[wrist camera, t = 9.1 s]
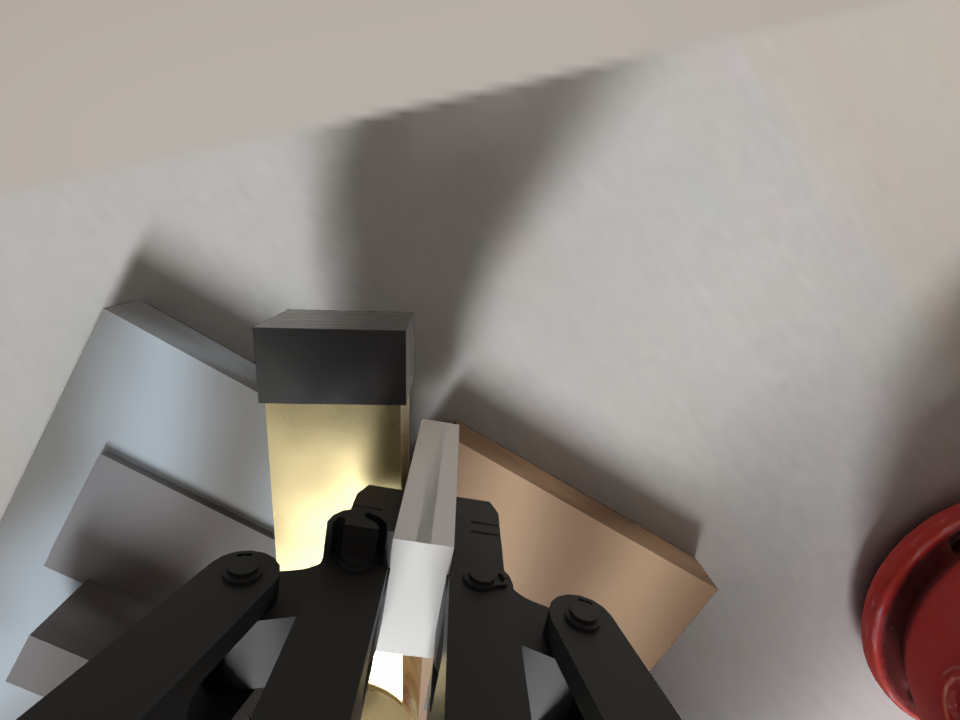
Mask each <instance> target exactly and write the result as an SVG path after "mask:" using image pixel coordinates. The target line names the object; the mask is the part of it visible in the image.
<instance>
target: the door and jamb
mask: <svg viewBox="0 0 960 720" xmlns="http://www.w3.org/2000/svg"><path fill="white" fill-rule="evenodd" d="M454 424H458V425H459V445H458V469H457V492H456V497H462V498H469V499H475V500H482V501H488V502H490V503H491V504H492V506H493V507H494V508H495V509H496V511H497V512H498V515H499V527H500V534H501V535H500V537H501V544H502V554H503V563H504V571H505V572H506V573H507V574H508V575H509V576H510V578H511V581H512V583H513V588H514V590H515V591H516V592H517V593H519V594H520V595H522V596H523V597H525V598H527V599H529V600H531V601H533V602H536V603H538V604H541V605H544V606H546V607H550V604H551V601H553V600H554V599H555V598H556V597H558V596H562V595H567V594H571V595H580V596H583V597H586V598H588V599H591V600H593V601H595V602H596V603H598V604H599V605H601V606H602V607H604V608H605V609H606V610H607V612H608V613H609V614H610V615H611V616H612V617H613V619H614V620H615V622H616V623H617V625H618V626H619V628H620V629H621V631H622V632H623V634H624V635H625V637H626V638H627V640H628V641H629V643H630V644H631V645H632V647H633V648H634V650H635V651H636V653H637V654H638V656H639V657H640V659H641V660H642V662H643V663H644V665H645V666H646V668H647V669H648V671H649V672H650V670H651V669H652V668H653V667H654V665H655V664H656V663H657V662H658V661H659V659H660V658H661V657H662V656H663V655H664V653H665V652H666V651H667V650H668V649H669V647H670V646H671V645H672V644H673V643H674V641H675V640H676V639H677V638H678V637H679V635H680V634H681V633H682V632H683V631H684V629H685V628H686V627H687V626H688V625H689V623H690V622H691V621H692V620H693V619H694V617H695V616H696V615H697V614H698V613H699V611H700V610H701V609H702V608H703V607H704V605H705V604H706V603H707V602H708V601H709V599H710V598H711V597H712V596H713V595H714V593H715V592H716V591H717V590H718V589H717V587H716V586H715V585H714V583H713V582H712V581H711V579H710V578H709V576H708V575H707V574H706V572H705V571H704V570H703V568H702V567H701V565H700V564H699V563H698V561H697V560H696V558H694V557H692V556H691V555H689V554H687V553H686V552H684V551H682V550H680V549H679V548H677V547H675V546H673V545H672V544H670V543H668V542H666V541H665V540H663V539H661V538H660V537H658V536H656V535H654V534H653V533H651V532H649V531H647V530H646V529H644V528H642V527H640V526H639V525H637V524H635V523H634V522H632V521H630V520H628V519H627V518H625V517H623V516H621V515H620V514H618V513H616V512H614V511H613V510H611V509H609V508H608V507H606V506H604V505H602V504H601V503H599V502H597V501H595V500H594V499H592V498H590V497H588V496H587V495H585V494H583V493H582V492H580V491H578V490H576V489H575V488H573V487H571V486H569V485H568V484H566V483H564V482H562V481H561V480H559V479H557V478H556V477H554V476H552V475H550V474H549V473H547V472H545V471H543V470H542V469H540V468H538V467H536V466H535V465H533V464H531V463H530V462H528V461H526V460H524V459H523V458H521V457H519V456H517V455H516V454H514V453H512V452H510V451H509V450H507V449H505V448H504V447H502V446H500V445H498V444H497V443H495V442H493V441H491V440H490V439H488V438H486V437H484V436H483V435H481V434H479V433H478V432H476V431H474V430H472V429H471V428H469V427H467V426H465V425H464V424H462V423H460V422H458V421H457V420H456V421H455V423H454ZM251 550H252V551H258V552H263V553H266V554H268V555H270V556H272V557H274V558H275V559H276V547H275V533H274V519H273V505H272V492H271V478H270V464H269V450H268V436H267V422H266V408H265V403H258V389H257V376H256V364H254V363H252V362H251V361H249V360H247V359H245V358H243V357H242V356H240V355H238V354H236V353H234V352H233V351H231V350H229V349H227V348H225V347H224V346H222V345H220V344H218V343H216V342H215V341H213V340H211V339H209V338H207V337H206V336H204V335H202V334H200V333H198V332H197V331H195V330H193V329H191V328H189V327H188V326H186V325H184V324H182V323H181V322H179V321H177V320H175V319H173V318H172V317H170V316H168V315H166V314H164V313H163V312H161V311H159V310H157V309H155V308H154V307H152V306H150V305H148V304H146V303H145V302H143V301H141V300H136V301H132V302H128V303H124V304H119V305H115V306H111V307H107V308H103V310H102V312H101V314H100V316H99V319H98V321H97V323H96V325H95V327H94V329H93V331H92V333H91V335H90V337H89V339H88V341H87V343H86V346H85V348H84V350H83V352H82V354H81V356H80V358H79V360H78V362H77V364H76V366H75V368H74V370H73V373H72V375H71V377H70V379H69V381H68V383H67V385H66V387H65V389H64V391H63V393H62V395H61V397H60V400H59V402H58V404H57V406H56V408H55V410H54V412H53V414H52V416H51V418H50V420H49V422H48V424H47V427H46V429H45V431H44V433H43V435H42V437H41V439H40V441H39V443H38V445H37V447H36V449H35V451H34V454H33V456H32V458H31V460H30V462H29V464H28V466H27V468H26V470H25V472H24V474H23V476H22V478H21V481H20V483H19V485H18V487H17V489H16V491H15V493H14V495H13V497H12V499H11V501H10V503H9V505H8V508H7V510H6V512H5V514H4V516H3V518H2V520H1V522H0V720H16V719H17V718H18V717H20V716H21V715H22V714H23V713H25V712H26V711H27V710H28V709H30V708H31V707H32V706H33V705H35V704H36V703H37V702H38V701H40V700H41V699H42V698H43V697H45V696H46V695H47V694H48V693H50V692H51V691H52V690H53V689H54V688H56V687H57V686H58V685H59V684H61V683H62V682H63V681H64V680H66V679H67V678H68V677H69V676H71V675H72V674H73V673H74V672H76V671H77V670H78V669H79V668H81V667H82V666H83V665H84V664H86V663H87V662H88V661H89V660H91V659H92V658H93V657H94V656H96V655H97V654H98V653H99V652H101V651H102V650H103V649H104V648H106V647H107V646H108V645H109V644H110V643H112V642H113V641H114V640H115V639H117V638H118V637H119V636H120V635H122V634H123V633H124V632H125V631H127V630H128V629H129V628H130V627H132V626H133V625H134V624H135V623H137V622H138V621H139V620H140V619H142V618H143V617H144V616H145V615H147V614H148V613H149V612H150V611H152V610H153V609H154V608H155V607H157V606H158V605H159V604H160V603H162V602H163V601H164V600H165V599H166V598H168V597H169V596H170V595H171V594H173V593H174V592H175V591H176V590H178V589H179V588H180V587H181V586H183V585H184V584H185V583H186V582H188V581H189V580H190V579H191V578H193V577H194V576H195V575H196V574H198V573H199V572H200V571H201V570H203V569H204V568H205V567H206V566H208V565H209V564H210V563H211V562H213V561H214V560H216V559H218V558H220V557H221V556H223V555H226V554H230V553H233V552H237V551H251ZM433 659H434V654H433ZM433 659H431V658H423V657H422V674H421V687H420V701H419V715H418V720H426V719H427V710H424V705H425V700H426V695H427V689H428V684H429V679H430V674H431V669H432V664H433Z"/></svg>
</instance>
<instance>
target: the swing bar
mask: <svg viewBox="0 0 960 720" xmlns="http://www.w3.org/2000/svg"><path fill="white" fill-rule="evenodd" d="M253 336H254V349H255V363H256V376H257V389H258V403H265V408H266V422H267V436H268V450H269V464H270V478H271V492H272V505H273V519H274V533H275V547H276V561H277V562H278V563H279V565H280V571H290V570H299V569H306V568H309V567H312V566H316V565H318V564H320V563H321V561H322V558H323V552H324V544H325V536H326V528H327V521H328V520H329V519H330V518H331V517H332V516H333V515H334V514H337V513H339V512H341V511H343V510H349V509H351V507H352V506H353V503H354V500H355V498H356V495H357V493H358V492H360V491H361V490H363V489H364V488H365V487H367V486H368V485H374V486H381V487H387V488H394V489H400V490H405V487H406V483H407V478H408V474H409V393H410V389H411V385H412V381H413V378H414V312H377V311H336V310H294V309H288V310H286V311H284V312H282V313H280V314H278V315H276V316H274V317H272V318H270V319H268V320H266V321H264V322H262V323H260V324H258V325H256V326H254V327H253ZM421 674H422V657H416V656H406V655H398V654H391V653H384V652H375V655H374V658H373V665H372V671H371V676H370V680H369V685H368V689H367V693H366V698H365V702H364V707H363V711H362V715H361V720H418V715H419V701H420V687H421Z"/></svg>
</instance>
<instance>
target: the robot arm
mask: <svg viewBox="0 0 960 720" xmlns="http://www.w3.org/2000/svg"><path fill="white" fill-rule="evenodd" d="M458 445H459V425H458V424H452V423H446V422H439V421H433V420H427V419H422V420H421V424H420V429H419V433H418V437H417V441H416V445H415V449H414V454H413V458H412V462H411V466H410V470H409V474H408V478H407V483H406V487H405V490H400V489H394V488H387V487H381V486H374V485H368V486H367V487H365V488H364V489H363V490H361V491H360V492H358V493H357V495H356V498H355V500H354V503H353V506H352V507H351V509H349V510H343V511H341V512H339V513H337V514H334V515H333V516H332V517H331V518H330V519H329V520H328V521H327V528H326V536H325V544H324V552H323V558H322V561H321V563H320V564H318V565H316V566H312V567H309V568H306V569H299V570H290V571H280V565H279V563H278V562H277V561H276V559H275V558H274V557H272V556H270V555H268V554H266V553H263V552H258V551H252V550H251V551H237V552H233V553H230V554H226V555H223V556H221V557H220V558H218V559H216V560H214V561H213V562H211V563H210V564H209V565H208V566H206V567H205V568H204V569H203V570H201V571H200V572H199V573H198V574H196V575H195V576H194V577H193V578H191V579H190V580H189V581H188V582H186V583H185V584H184V585H183V586H181V587H180V588H179V589H178V590H176V591H175V592H174V593H173V594H171V595H170V596H169V597H168V598H166V599H165V600H164V601H163V602H162V603H160V604H159V605H158V606H157V607H155V608H154V609H153V610H152V611H150V612H149V613H148V614H147V615H145V616H144V617H143V618H142V619H140V620H139V621H138V622H137V623H135V624H134V625H133V626H132V627H130V628H129V629H128V630H127V631H125V632H124V633H123V634H122V635H120V636H119V637H118V638H117V639H115V640H114V641H113V642H112V643H110V644H109V645H108V646H107V647H106V648H104V649H103V650H102V651H101V652H99V653H98V654H97V655H96V656H94V657H93V658H92V659H91V660H89V661H88V662H87V663H86V664H84V665H83V666H82V667H81V668H79V669H78V670H77V671H76V672H74V673H73V674H72V675H71V676H69V677H68V678H67V679H66V680H64V681H63V682H62V683H61V684H59V685H58V686H57V687H56V688H54V689H53V690H52V691H51V692H50V693H48V694H47V695H46V696H45V697H43V698H42V699H41V700H40V701H38V702H37V703H36V704H35V705H33V706H32V707H31V708H30V709H28V710H27V711H26V712H25V713H23V714H22V715H21V716H20V717H18V718H17V719H16V720H246V719H247V718H248V716H249V715H250V714H251V712H252V711H253V710H254V708H255V707H256V708H255V710H254V712H253V714H252V716H251V719H250V720H361V715H362V711H363V707H364V702H365V698H366V693H367V689H368V685H369V680H370V676H371V671H372V665H373V658H374V655H375V652H384V653H391V654H398V655H406V656H416V657H423V658H431V659H433V654H434V659H433V664H432V669H431V674H430V679H429V684H428V689H427V695H426V700H425V705H424V710H427V719H426V720H681V718H680V717H679V715H678V714H677V712H676V711H675V709H674V708H673V706H672V705H671V703H670V702H669V700H668V699H667V697H666V696H665V694H664V693H663V692H662V690H661V689H660V687H659V686H658V684H657V683H656V681H655V680H654V678H653V677H652V675H651V674H650V672H649V671H648V669H647V668H646V666H645V665H644V663H643V662H642V660H641V659H640V657H639V656H638V654H637V653H636V651H635V650H634V648H633V647H632V645H631V644H630V643H629V641H628V640H627V638H626V637H625V635H624V634H623V632H622V631H621V629H620V628H619V626H618V625H617V623H616V622H615V620H614V619H613V617H612V616H611V615H610V614H609V613H608V612H607V610H606V609H605V608H604V607H602V606H601V605H599V604H598V603H596V602H595V601H593V600H591V599H588V598H586V597H583V596H580V595H571V594H567V595H562V596H558V597H556V598H555V599H554V600H553V601H551V604H550V607H546V606H544V605H541V604H538V603H536V602H533V601H531V600H529V599H527V598H525V597H523V596H522V595H520V594H519V593H517V592H516V591H515V590H514V588H513V583H512V581H511V578H510V576H509V575H508V574H507V573H506V572H505V571H504V563H503V554H502V544H501V537H500V535H501V534H500V527H499V515H498V512H497V511H496V509H495V508H494V507H493V506H492V504H491V503H490V502H488V501H482V500H475V499H469V498H462V497H456V492H457V469H458Z"/></svg>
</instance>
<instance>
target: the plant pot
mask: <svg viewBox="0 0 960 720" xmlns="http://www.w3.org/2000/svg"><path fill="white" fill-rule="evenodd" d="M861 633H862V643H863V650H864V654H865V657H866V660H867V663H868V666H869V668H870V670H871V672H872V674H873V676H874V678H875V680H876V681H877V682H878V684H879V685H880V687H881V688H882V689H883V691H884V692H885V694H886V695H887V696H888V697H889V698H890V699H891V700H892V701H893V702H894V703H895V704H896V705H897V706H898V707H899V708H900V709H902V710H903V711H904V712H905V713H907V714H908V715H910V716H911V717H913V718H915V719H916V720H960V503H958V504H955V505H953V506H951V507H949V508H946V509H944V510H942V511H940V512H939V513H937V514H935V515H934V516H932V517H930V518H929V519H927V520H925V521H924V522H923V523H921V524H920V525H919V526H917V527H916V528H915V529H913V530H912V531H911V532H910V533H909V534H908V535H906V536H905V537H904V538H903V539H902V540H901V541H900V542H899V543H898V544H897V545H896V546H895V547H894V549H893V550H892V551H891V552H890V553H889V555H888V556H887V557H886V558H885V560H884V561H883V562H882V564H881V565H880V567H879V569H878V570H877V572H876V574H875V576H874V578H873V580H872V582H871V585H870V587H869V590H868V593H867V595H866V599H865V603H864V608H863V613H862V624H861Z"/></svg>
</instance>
